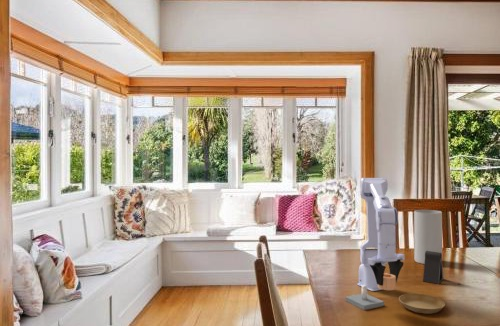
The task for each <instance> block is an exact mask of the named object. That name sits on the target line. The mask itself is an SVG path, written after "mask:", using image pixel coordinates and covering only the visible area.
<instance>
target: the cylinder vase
mask: <svg viewBox="0 0 500 326" xmlns="http://www.w3.org/2000/svg"><path fill="white" fill-rule="evenodd" d="M413 214H414V215H413V216H414V217H413V223H414V224H413V232H414V233H413V234H414V236H413V239H414V240H413V241H414V243H413V244H414V245H413V247H414V249H413V250H414V251H413V253H414V258H413V259H414V262H416V263H418V264H422V265H424V264H425V252H426V251H431V252H439V253H442V254H443V212H442V211H440V210H435V209H433V210H432V209H417V210H414V211H413Z"/></svg>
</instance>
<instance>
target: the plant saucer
mask: <svg viewBox="0 0 500 326" xmlns="http://www.w3.org/2000/svg"><path fill="white" fill-rule="evenodd" d="M398 301H399V302H400V303H401V304H402V305H403V306H404V308H406V309H407V310H409V311H412V312H413V313H420V314H429V315H430V314H436V313H438V312H440V311H441V310H442V309H443V308H444V307H445V306H446V303H445V302H444V300H442V299H440V298H439V297H436V296H432V295H427V294H422V293H405V294H404V293H403V294H402V295H400V296H399V297H398Z"/></svg>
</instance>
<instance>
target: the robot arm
mask: <svg viewBox="0 0 500 326" xmlns="http://www.w3.org/2000/svg"><path fill="white" fill-rule="evenodd" d="M359 192H360V193H359V194H360V198H361V199H363V200H364V201H365V204H366V205H365V206H366V207H365V208H366V211H365V213H366V233H367V234H366V237H367V238H366V239H367V240H365V241H364V242H363V243H361V245H360V247H359V248H360V250H359V258H360V263H361V264H360V265H359V267H358V283H357V284H356V285H357V286H359V287H361V288H362V286H363V285H366V286H367V291H368V290H369V291H371V292H377V291H381V290H382V291H383V289H380V288H378V285H381V286H382V285H383V276H384V273H385V272H386V271H385V270H386V264H388V269H389V274H392V275H395V276H396V283H397V282H398V278H399V274H400V272H401V270H402V268H403V267H404V261H405V259H406V258H405V254H403V253H396V226H397V225H398V221H399V219H398V218H399V217H398V214H399V213H398V210H397V208H396V207H394V206H392V203H391V200H390V198H389V197H388V196H387V195H386V194H387V192H388V180H387V178H386V177H361V178H360V181H359Z"/></svg>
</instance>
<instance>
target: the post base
mask: <svg viewBox="0 0 500 326" xmlns="http://www.w3.org/2000/svg"><path fill="white" fill-rule="evenodd" d="M345 302H347V303H349V304H351V305H353V306H355V307H356V308H359V309H360V310H363V311H367V310H371V309H376V308H380V307H385V301H384V300H381V299H379V298H377V297H375V296H372V295H370V294H368V289H367V286H366V285H363V286H362V287H361V293H357V294H353V295H348V296H347V295H346V296H345Z"/></svg>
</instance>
